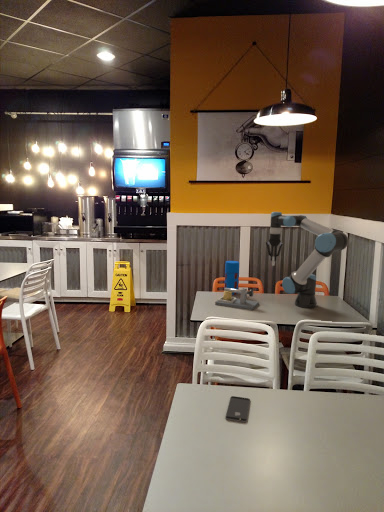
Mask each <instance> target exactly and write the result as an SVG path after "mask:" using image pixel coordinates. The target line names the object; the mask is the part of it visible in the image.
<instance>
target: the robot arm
mask: <svg viewBox="0 0 384 512" xmlns="http://www.w3.org/2000/svg"><path fill="white" fill-rule="evenodd" d="M282 227H287V228H292V227H299V228H301V229H303V230H305V231H308V232H309V233H311V234H313V235H316V238H315V240H314V242H315V243H314V245H313V246H314V249H313V250H312V252H311V253H310V254H309V256H308V257H307V258H306V259H305V260H304V262H303V263H302V264H300V266H299V267H298V269H297V270H296V271H295V270H294V271H293V272H291V274H290V275H289V276H286V277H284V278H283V279H282V281H281V285H282V289H283V291H284V293H286V294H289V295H293V294H297V295H296V297H295V300H294V305H295V306H296V307H300V308H306V309H314V308H316V307H317V306H318V305H317V304H318V303H317V300H316V299H317V298H316V286H317V285H316V284H317V276H316V275H315V274H313V273H314V271H316V269H317V268H318V267H319V266H320V264H321V263H323V261H324V260H325V259H326V258H330V257H331V256H332V255H333V254H334V252H339V251H344V249H346V248H347V246H348V245H349V237H348V236H347V234H346V233H344V232H342V231H340V230H337V229H332V228H329V227H327V226H324V225H322V224H320V223H317V222H316V221H313V220H311V219H309V218H308V217H307V215H301V214H300V215H285V214H284V215H282V212H281V211H272V212H271V213H270V227H269V228H270V229H269V240H268V241H266V242H265V245H266V247H267V248H266V249H267V252H268V256H270V261H271V266H272V267H274V266H275V265H276V261H277V259H278V257H279V256H280V254H281V252H282V248H283V246H284V243H283V242H281V233H282ZM270 247H271V248H270ZM278 247H279V248H278Z"/></svg>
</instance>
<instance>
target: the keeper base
mask: <svg viewBox="0 0 384 512" xmlns="http://www.w3.org/2000/svg"><path fill="white" fill-rule="evenodd" d="M240 290H241V293H240V298H237V297H233V296H232V299H231V301H227V300H223V295H222V296H221V297H219V298H218V299H217V300H216V301H215V302H214V303H215V305H216V306H221V307H222V306H223V307H228V308H234V309H241V310H248V311H253V310H254V309H255V308H257V307H258V306H259V304H260V302H259V301H257V300H256V301H255V300H248V299H247V295H248V294H245V290H246V291H248V289H247V288H245V287H244V288H242V289H240Z"/></svg>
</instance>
